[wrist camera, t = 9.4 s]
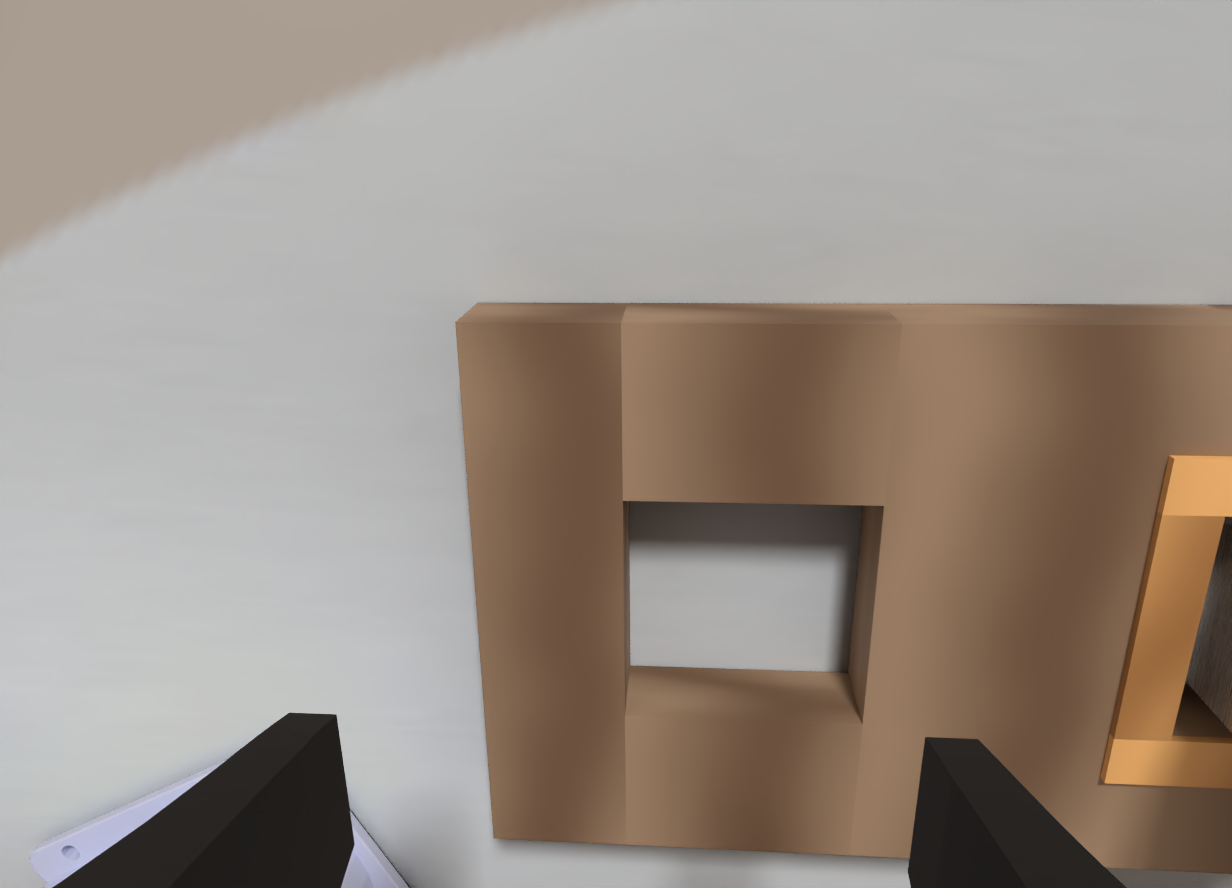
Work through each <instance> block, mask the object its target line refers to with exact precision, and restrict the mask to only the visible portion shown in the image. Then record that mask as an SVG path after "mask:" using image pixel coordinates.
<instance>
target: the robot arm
mask: <svg viewBox="0 0 1232 888" xmlns="http://www.w3.org/2000/svg"><path fill="white" fill-rule="evenodd" d="M29 859H30V864H31V866H32V868H33V869H34V870H35V871H36V872H37V873H38V875H39V876H40V877H41V878H42V879H43V880H44V881H45V882H46V883H47V884H46V885H45V886H44V888H409V887H408V886H407V884H406V883H405V882H404V880H403V879H402V878H401V876H400V875H399V874H398V872H397V871H396V870H395V869H394V867H393V866H392V865H391V863H390V862H389V861H388V859H387V858H386V857H385V856H384V854H383V853H382V852H381V850H380V849H379V848H378V846H377V845H376V844H375V842H374V841H373V840H372V839H371V837H370V836H369V835H368V833H367V832H366V831H365V829H364V828H363V827H362V826H361V824H360V823H359V822H358V820H357V819H356V818H355V816H354V815H353V814H352V812H351V811H350V808H349V801H348V794H347V787H346V780H345V773H344V766H343V758H342V751H341V744H340V737H339V730H338V723H337V716H336V715H333V714H307V713H288V714H287V715H286V716H284V717H283V718H281V719H280V720H279V721H277V722H276V723H274V724H273V725H272V726H270V727H269V728H268V729H266V730H265V731H264V732H262V733H261V734H260V735H258V736H257V737H256V738H254V739H253V740H252V741H251V742H249V743H248V744H247V745H245V746H244V747H243V748H242V749H240V750H239V751H238V752H236V753H235V754H234V755H233V756H231V757H230V758H229V759H227V760H224V761H222V762H220V763H218V764H215V765H213V766H211V767H209V768H206V769H204V770H202V771H200V772H198V773H195V774H193V775H191V776H189V777H186V778H184V779H182V780H180V781H178V782H175V783H173V784H171V785H169V786H166V787H164V788H162V789H160V790H158V791H155V792H153V793H151V794H149V795H146V796H144V797H142V798H140V799H137V800H135V801H133V802H131V803H129V804H126V805H124V806H122V807H120V808H117V809H115V810H113V811H111V812H109V813H106V814H104V815H102V816H100V817H97V818H95V819H93V820H91V821H89V822H86V823H84V824H82V825H80V826H77V827H75V828H73V829H71V830H68V831H66V832H64V833H62V834H60V835H57V836H55V837H53V838H51V839H48V840H46V841H44V842H42V843H41V844H39V845H38V846H37V847H36V848H35V849H34V851H33V852H32V853H31V855H30V857H29ZM908 874H909V879H910V884H911V888H1126V887H1125V886H1124V885H1123V884H1122V883H1121V882H1120V881H1119V880H1118V879H1117V878H1115V877H1114V876H1113V875H1112V874H1111V873H1110V872H1109V871H1108V870H1107V869H1106V868H1105V867H1104V866H1103V865H1102V864H1101V863H1100V862H1099V861H1098V860H1097V859H1096V858H1095V857H1094V856H1093V855H1092V854H1091V853H1090V852H1088V851H1087V850H1086V849H1085V848H1084V847H1083V846H1082V845H1081V844H1080V843H1079V842H1078V841H1077V840H1076V839H1075V838H1074V837H1073V836H1072V835H1071V834H1070V833H1069V832H1068V831H1067V830H1066V829H1065V828H1064V827H1063V826H1062V825H1061V824H1060V823H1059V822H1058V821H1057V820H1056V819H1055V818H1054V817H1053V816H1052V815H1051V814H1050V813H1049V812H1048V811H1047V810H1046V809H1045V808H1044V807H1043V805H1042V804H1041V803H1040V802H1039V801H1038V800H1037V799H1036V798H1035V797H1034V796H1033V795H1032V794H1031V793H1030V792H1029V791H1028V790H1027V789H1026V788H1025V787H1024V786H1023V785H1022V784H1021V783H1020V782H1019V781H1018V780H1017V779H1016V778H1015V777H1014V776H1013V774H1012V773H1011V772H1010V771H1009V770H1008V769H1007V768H1006V767H1005V766H1004V765H1003V764H1002V763H1001V762H1000V761H999V760H998V759H997V758H996V757H995V756H994V755H993V754H992V753H991V752H990V751H989V750H988V749H987V748H986V747H985V746H984V745H983V744H982V743H981V742H980V741H979V740H978V739H965V738H939V737H925V742H924V750H923V758H922V766H921V773H920V781H919V789H918V797H917V805H916V812H915V820H914V828H913V836H912V844H911V851H910V859H909V867H908Z"/></svg>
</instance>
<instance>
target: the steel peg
mask: <svg viewBox="0 0 1232 888" xmlns="http://www.w3.org/2000/svg"><path fill="white" fill-rule="evenodd" d="M1186 682H1187V683H1188V684H1189V686H1190V687H1191V688H1192V689H1193V690H1194V691H1195V692H1196V693H1197V695H1198V696H1199V697H1200V698H1201V699H1202V700H1203V701H1204V702H1205V704H1206V705H1207V706H1208V707H1209V708H1210V709H1211V710H1212V711H1213V713H1214V714H1215V715H1216V716H1217V717H1218V718H1219V719H1220V720H1221V722H1222V723H1223V724H1224V725H1225V726H1226V727H1227V728H1228V729H1229V731H1230V732H1231V733H1232V517H1226V516H1225V520H1224V524H1223V528H1222V532H1221V536H1220V540H1219V545H1218V549H1217V553H1216V557H1215V561H1214V565H1213V569H1212V573H1211V578H1210V582H1209V586H1208V590H1207V594H1206V598H1205V602H1204V607H1203V611H1202V615H1201V619H1200V623H1199V627H1198V631H1197V635H1196V640H1195V644H1194V648H1193V652H1192V656H1191V660H1190V664H1189V668H1188V673H1187V677H1186Z"/></svg>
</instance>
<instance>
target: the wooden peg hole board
mask: <svg viewBox="0 0 1232 888" xmlns="http://www.w3.org/2000/svg"><path fill="white" fill-rule="evenodd" d="M456 336H457V349H458V363H459V376H460V390H461V403H462V417H463V430H464V444H465V457H466V471H467V484H468V498H469V511H470V525H471V538H472V552H473V565H474V579H475V592H476V606H477V619H478V633H479V646H480V660H481V673H482V687H483V700H484V714H485V727H486V741H487V754H488V767H489V781H490V794H491V808H492V821H493V835H494V838H498V839H519V840H539V841H560V842H581V843H602V844H623V845H644V846H665V847H686V848H706V849H727V850H748V851H769V852H790V853H811V854H832V855H853V856H873V857H894V858H910V851H911V844H912V836H913V828H914V820H915V812H916V805H917V797H918V789H919V781H920V773H921V766H922V758H923V750H924V742H925V737H939V738H965V739H978V740H979V741H980V742H981V743H982V744H983V745H984V746H985V747H986V748H987V749H988V750H989V751H990V752H991V753H992V754H993V755H994V756H995V757H996V758H997V759H998V760H999V761H1000V762H1001V763H1002V764H1003V765H1004V766H1005V767H1006V768H1007V769H1008V770H1009V771H1010V772H1011V773H1012V774H1013V776H1014V777H1015V778H1016V779H1017V780H1018V781H1019V782H1020V783H1021V784H1022V785H1023V786H1024V787H1025V788H1026V789H1027V790H1028V791H1029V792H1030V793H1031V794H1032V795H1033V796H1034V797H1035V798H1036V799H1037V800H1038V801H1039V802H1040V803H1041V804H1042V805H1043V807H1044V808H1045V809H1046V810H1047V811H1048V812H1049V813H1050V814H1051V815H1052V816H1053V817H1054V818H1055V819H1056V820H1057V821H1058V822H1059V823H1060V824H1061V825H1062V826H1063V827H1064V828H1065V829H1066V830H1067V831H1068V832H1069V833H1070V834H1071V835H1072V836H1073V837H1074V838H1075V839H1076V840H1077V841H1078V842H1079V843H1080V844H1081V845H1082V846H1083V847H1084V848H1085V849H1086V850H1087V851H1088V852H1090V853H1091V854H1092V855H1093V856H1094V857H1095V858H1096V859H1097V860H1098V861H1099V862H1100V863H1101V864H1102V865H1103V866H1104V867H1105V868H1124V869H1145V870H1166V871H1187V872H1208V873H1228V874H1232V733H1231V732H1230V731H1229V729H1228V728H1227V727H1226V726H1225V725H1224V724H1223V723H1222V722H1221V720H1220V719H1219V718H1218V717H1217V716H1216V715H1215V714H1214V713H1213V711H1212V710H1211V709H1210V708H1209V707H1208V706H1207V705H1206V704H1205V702H1204V701H1203V700H1202V699H1201V698H1200V697H1199V696H1198V695H1197V693H1196V692H1195V691H1194V690H1193V689H1192V688H1191V687H1190V686H1189V684H1185V681H1186V677H1187V673H1188V668H1189V664H1190V660H1191V656H1192V652H1193V648H1194V644H1195V640H1196V635H1197V631H1198V627H1199V623H1200V619H1201V615H1202V611H1203V607H1204V602H1205V598H1206V594H1207V590H1208V586H1209V582H1210V578H1211V573H1212V569H1213V565H1214V561H1215V557H1216V553H1217V549H1218V545H1219V540H1220V536H1221V532H1222V528H1223V524H1224V520H1225V516H1226V517H1232V305H1102V304H730V303H477V304H476V305H475V306H473V307H472V308H471V309H470V310H469V311H468V312H467V313H465V314H464V315H463V316H462V317H461V318H460V319H459V320H457V321H456ZM629 501H656V502H708V503H760V504H812V505H863V509H862V520H861V531H860V543H859V554H858V565H857V576H856V587H855V598H854V609H853V620H852V631H851V643H850V654H849V665H848V673H836V672H806V671H776V670H745V669H715V668H684V667H654V666H630V576H629Z"/></svg>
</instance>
